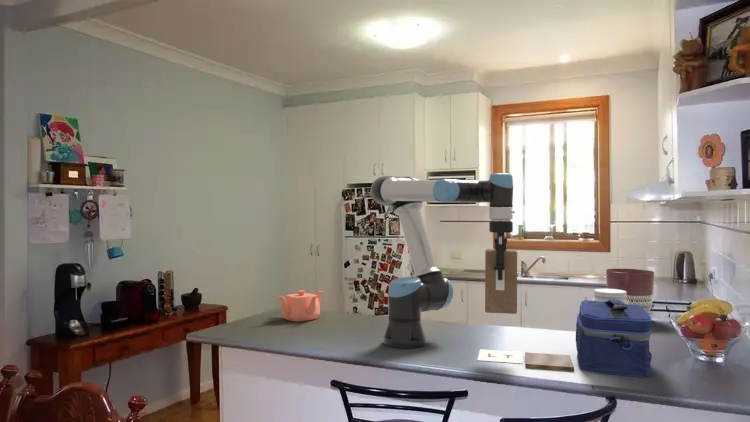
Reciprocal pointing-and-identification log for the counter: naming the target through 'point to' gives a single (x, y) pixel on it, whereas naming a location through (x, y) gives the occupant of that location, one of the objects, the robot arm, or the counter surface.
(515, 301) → the wooden block
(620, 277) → the planter
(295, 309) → the pot
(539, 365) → the board
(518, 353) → the tile
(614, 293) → the supplement tub
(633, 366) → the lunch bag
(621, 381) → the counter surface
